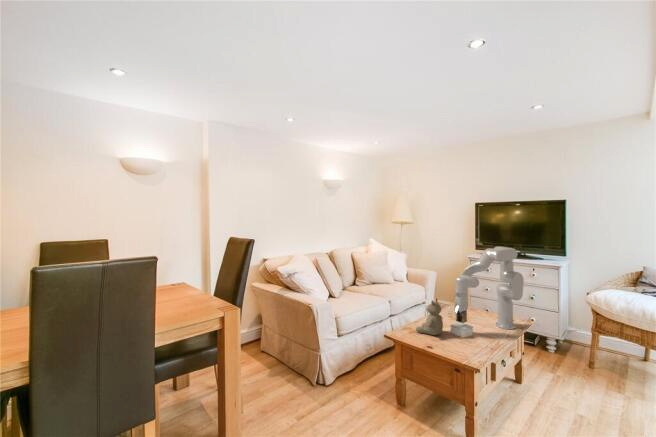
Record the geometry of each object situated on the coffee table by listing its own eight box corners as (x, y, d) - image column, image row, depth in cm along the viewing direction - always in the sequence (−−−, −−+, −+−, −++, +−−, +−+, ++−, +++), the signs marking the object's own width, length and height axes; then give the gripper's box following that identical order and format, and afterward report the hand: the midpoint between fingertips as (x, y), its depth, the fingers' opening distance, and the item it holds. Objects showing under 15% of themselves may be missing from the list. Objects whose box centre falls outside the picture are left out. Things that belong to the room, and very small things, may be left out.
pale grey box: (460, 330, 218) (460, 321, 218) (473, 335, 209) (473, 326, 209) (450, 332, 214) (450, 324, 214) (462, 338, 204) (462, 329, 204)
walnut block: (460, 319, 214) (460, 309, 214) (466, 321, 210) (466, 311, 210) (456, 321, 211) (456, 311, 211) (462, 323, 207) (462, 313, 207)
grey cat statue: (425, 325, 227) (425, 293, 226) (446, 331, 216) (446, 297, 215) (412, 334, 212) (412, 299, 211) (434, 340, 201) (434, 304, 200)
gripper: (462, 291, 219) (462, 316, 219) (449, 295, 209) (449, 321, 209) (472, 293, 213) (472, 319, 213) (459, 298, 202) (459, 324, 203)
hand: (461, 320), depth 211 cm, fingers closed on walnut block, 5 cm apart
